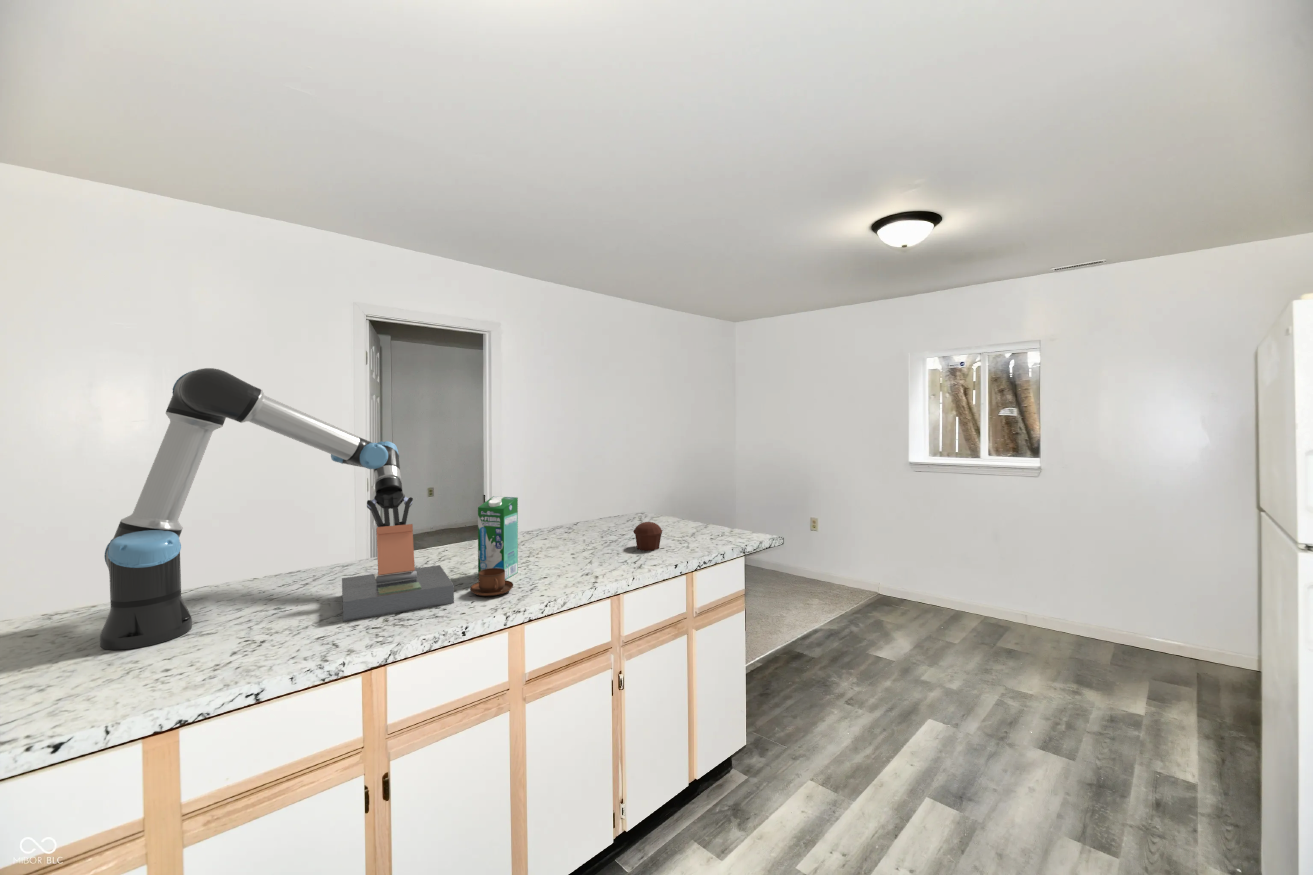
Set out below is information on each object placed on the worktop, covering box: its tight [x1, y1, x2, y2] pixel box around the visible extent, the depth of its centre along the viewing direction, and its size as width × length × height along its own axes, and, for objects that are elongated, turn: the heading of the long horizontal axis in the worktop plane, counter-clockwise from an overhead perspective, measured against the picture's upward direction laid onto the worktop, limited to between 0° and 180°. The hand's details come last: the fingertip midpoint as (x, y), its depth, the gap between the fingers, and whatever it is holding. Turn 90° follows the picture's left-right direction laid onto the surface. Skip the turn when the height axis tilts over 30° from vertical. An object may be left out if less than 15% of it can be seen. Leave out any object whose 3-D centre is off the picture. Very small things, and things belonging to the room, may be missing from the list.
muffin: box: [632, 521, 663, 552], centre depth 205 cm, size 12×11×10 cm
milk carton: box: [477, 495, 519, 580], centre depth 167 cm, size 9×9×25 cm
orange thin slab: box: [375, 523, 417, 584], centre depth 147 cm, size 3×10×15 cm, turn 122°
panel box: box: [341, 564, 455, 623], centre depth 145 cm, size 22×26×5 cm
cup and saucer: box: [469, 568, 514, 597], centre depth 152 cm, size 12×12×6 cm
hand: (394, 546), depth 151 cm, fingers closed
